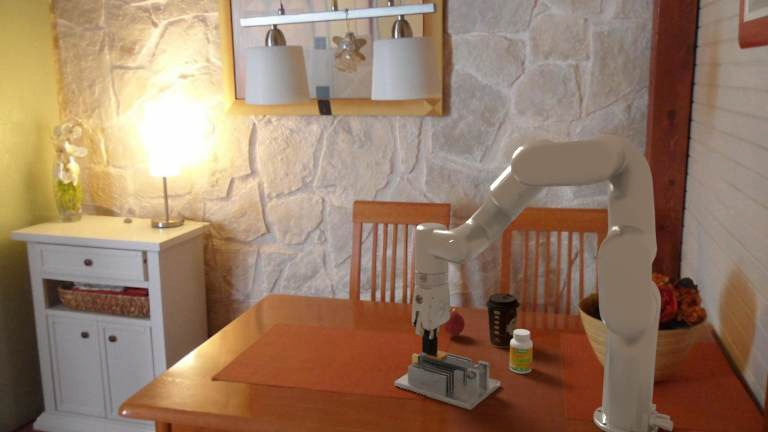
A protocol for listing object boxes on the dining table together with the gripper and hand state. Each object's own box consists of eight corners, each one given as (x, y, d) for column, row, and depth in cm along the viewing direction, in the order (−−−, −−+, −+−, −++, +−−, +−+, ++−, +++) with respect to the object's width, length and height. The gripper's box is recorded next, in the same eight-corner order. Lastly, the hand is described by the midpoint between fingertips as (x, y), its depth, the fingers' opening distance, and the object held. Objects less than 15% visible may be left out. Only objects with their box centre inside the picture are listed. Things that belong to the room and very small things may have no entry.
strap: (486, 374, 154) (486, 364, 154) (479, 379, 152) (480, 369, 152) (425, 357, 164) (425, 347, 163) (418, 361, 161) (418, 351, 161)
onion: (465, 340, 186) (465, 312, 184) (444, 340, 186) (444, 312, 185) (463, 332, 192) (463, 305, 190) (442, 332, 192) (443, 305, 190)
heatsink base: (500, 386, 159) (500, 356, 158) (470, 410, 148) (471, 378, 147) (427, 365, 171) (427, 337, 169) (394, 386, 160) (394, 356, 158)
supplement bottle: (515, 375, 165) (516, 337, 163) (505, 366, 170) (506, 329, 168) (535, 372, 166) (537, 334, 164) (525, 363, 171) (526, 326, 169)
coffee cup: (517, 338, 187) (518, 292, 185) (519, 350, 179) (521, 302, 177) (484, 337, 188) (485, 291, 186) (486, 349, 180) (487, 302, 178)
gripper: (427, 288, 149) (426, 367, 153) (461, 272, 161) (459, 346, 165) (398, 282, 153) (398, 359, 157) (434, 267, 165) (433, 339, 169)
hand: (429, 352), depth 161 cm, fingers closed
